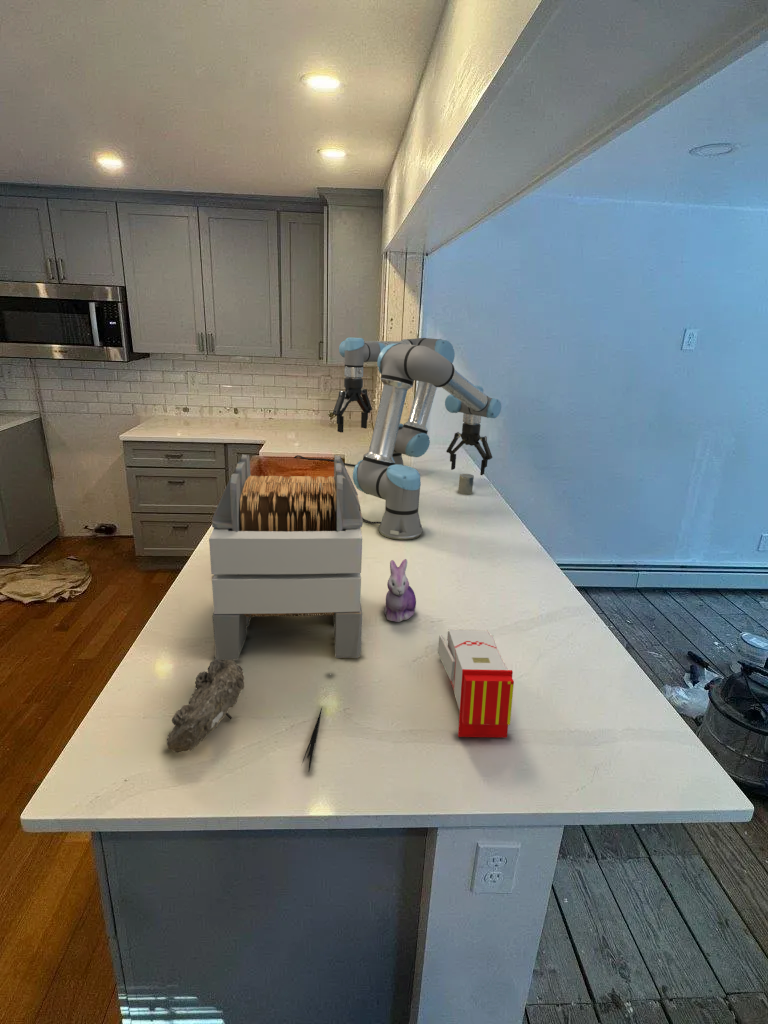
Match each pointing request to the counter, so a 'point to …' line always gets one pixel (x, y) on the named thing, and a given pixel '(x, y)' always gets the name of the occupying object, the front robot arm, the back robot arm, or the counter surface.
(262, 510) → the record crate
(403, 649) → the counter surface
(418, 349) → the front robot arm
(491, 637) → the toy
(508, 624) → the counter surface
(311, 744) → the feather
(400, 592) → the figurine
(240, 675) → the fossil
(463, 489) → the can
